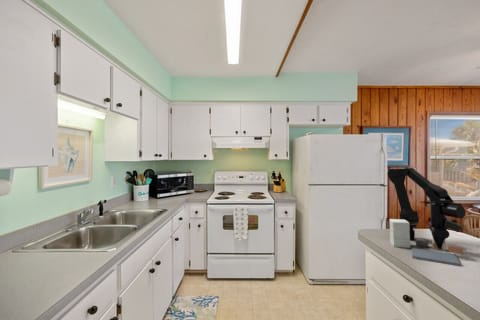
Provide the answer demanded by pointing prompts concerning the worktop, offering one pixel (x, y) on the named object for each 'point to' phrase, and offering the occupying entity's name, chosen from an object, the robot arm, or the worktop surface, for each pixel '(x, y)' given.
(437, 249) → the beech block
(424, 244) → the smooth grey pebble
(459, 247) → the terracotta tile
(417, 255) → the slate board
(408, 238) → the supplement box
